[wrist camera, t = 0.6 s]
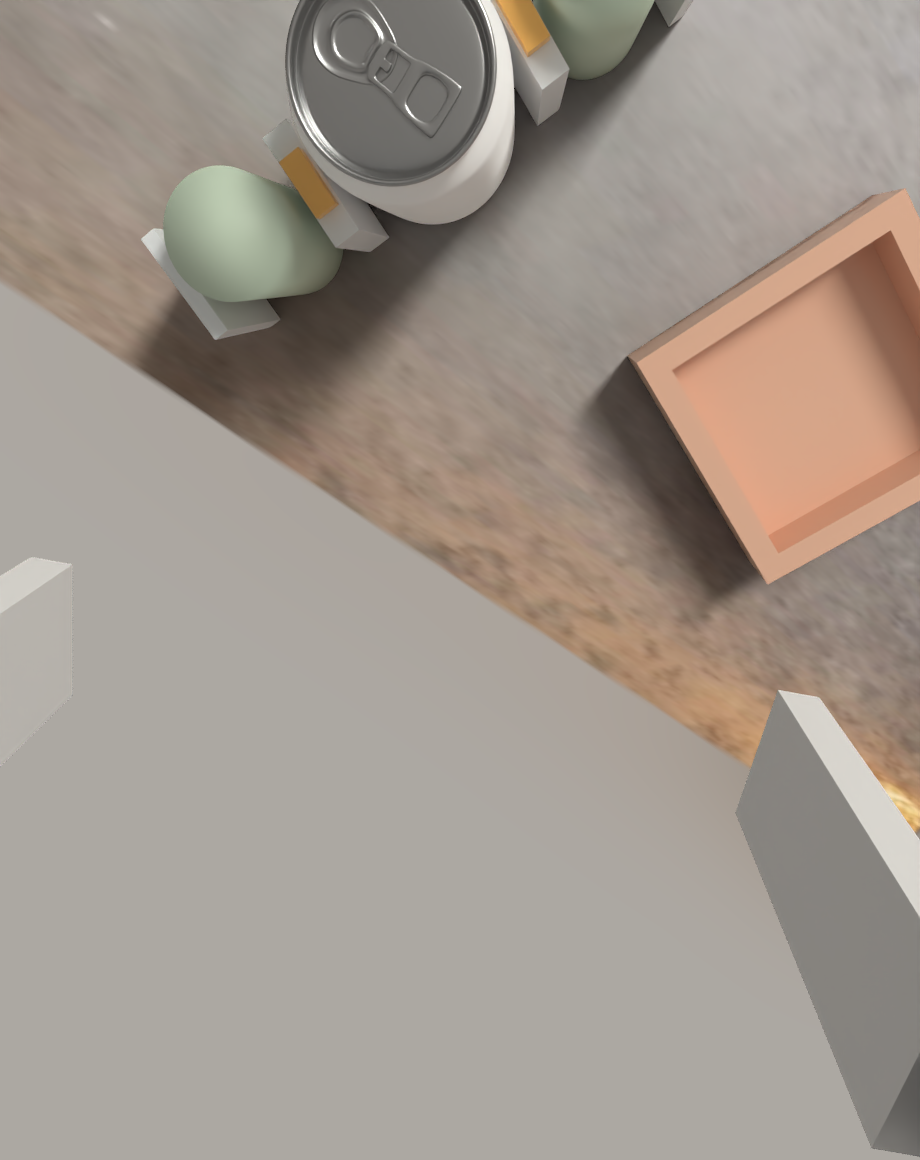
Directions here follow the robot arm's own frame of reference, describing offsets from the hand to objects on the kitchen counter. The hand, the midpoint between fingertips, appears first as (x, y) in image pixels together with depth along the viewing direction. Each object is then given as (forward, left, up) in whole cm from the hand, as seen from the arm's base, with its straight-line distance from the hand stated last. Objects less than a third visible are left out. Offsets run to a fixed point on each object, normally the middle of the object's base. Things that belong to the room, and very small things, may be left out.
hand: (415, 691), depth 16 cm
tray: (+6, +13, -23) cm, 27 cm away
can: (-11, +5, -24) cm, 27 cm away
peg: (-11, -1, -23) cm, 26 cm away
